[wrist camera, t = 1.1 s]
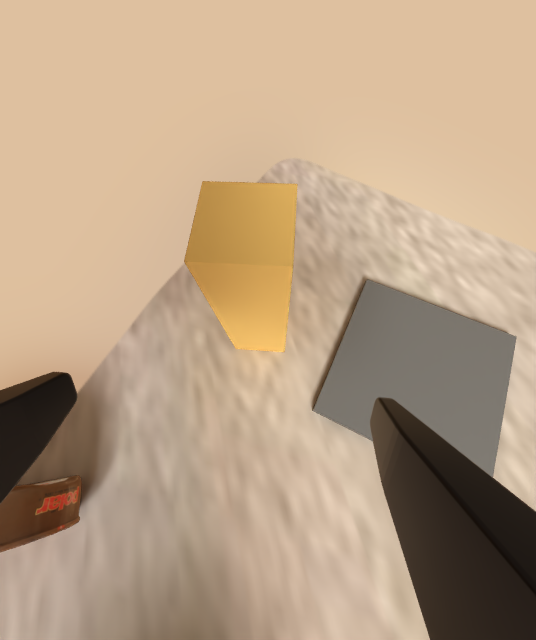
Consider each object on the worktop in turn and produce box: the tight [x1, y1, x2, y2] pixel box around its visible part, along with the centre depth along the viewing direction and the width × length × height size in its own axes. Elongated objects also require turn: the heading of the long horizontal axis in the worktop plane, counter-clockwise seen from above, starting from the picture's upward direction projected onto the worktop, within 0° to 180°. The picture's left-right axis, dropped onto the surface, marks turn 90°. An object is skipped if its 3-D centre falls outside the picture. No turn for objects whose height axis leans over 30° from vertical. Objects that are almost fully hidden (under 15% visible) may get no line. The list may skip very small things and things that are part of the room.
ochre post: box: [184, 181, 297, 352], centre depth 16 cm, size 4×4×12 cm
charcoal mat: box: [312, 279, 516, 477], centre depth 20 cm, size 12×12×1 cm
